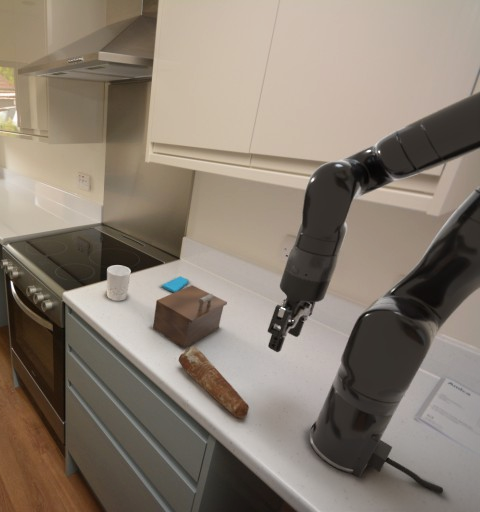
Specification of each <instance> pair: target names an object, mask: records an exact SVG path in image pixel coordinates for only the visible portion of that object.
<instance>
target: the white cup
mask: <svg viewBox="0 0 480 512" xmlns="http://www.w3.org/2000/svg"><path fill="white" fill-rule="evenodd" d="M131 272H132V271H131V268H129V267H127V266H125V265H120V264H115V265H110V266H108V267H107V269H106V296H107V298H108V299H110V300H112V301H115V302H120V301H124V300H126V299H127V296H128V295H127V294H128V291H129V285H130V281H131V280H130V279H131Z"/></svg>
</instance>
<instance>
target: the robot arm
mask: <svg viewBox="0 0 480 512" xmlns="http://www.w3.org/2000/svg"><path fill="white" fill-rule="evenodd" d="M479 150H480V91H477V92H475V93H473V94H471V95H468V96H467V97H464V98H462V99H460V100H458V101H455V102H454V103H451V104H449V105H447V106H445V107H442V108H441V109H438V110H437V111H434V112H432V113H430V114H428V115H425V116H423V117H422V118H419V119H417V120H415V121H413V122H411V123H409V124H407V125H405V126H403V127H401V128H399V129H397V130H395V131H392V132H391V133H389V134H387V135H385V136H384V137H382V138H381V139H379V141H377V142H376V143H374V144H373V145H371V146H369V147H367V148H364V149H362V150H360V151H358V152H356V153H354V154H351V155H349V156H347V157H343V158H341V159H340V160H332V161H328V162H326V163H323V164H321V165H320V166H318V167H317V168H316V169H315V170H314V171H313V173H312V174H311V175H310V177H309V179H308V182H307V184H306V187H305V191H304V196H303V204H302V212H301V222H300V225H299V227H298V230H297V233H296V237H295V240H294V244H293V245H292V247H291V250H290V252H289V254H288V257H287V260H286V264H285V267H284V270H283V273H282V276H281V279H280V282H279V289H280V290H281V291H282V293H284V294H285V296H286V298H284V299H283V300H282V302H281V304H277V305H275V307H274V310H273V314H272V316H271V319H270V323H269V325H268V328H267V333H269V334H270V338H269V342H268V344H267V347H268V348H269V349H270V350H272V351H273V352H276V353H280V352H281V350H282V348H283V345H284V342H285V340H286V337H287V335H288V334H289V335H291V336H293V337H295V338H298V337H299V336H300V335H301V332H302V329H303V327H304V324H305V322H307V320H308V317H311V316H312V315H313V311H314V308H315V305H316V303H318V302H321V301H323V300H324V299H325V297H326V294H327V291H328V289H329V286H330V283H331V281H332V278H333V275H334V273H335V270H336V267H337V263H338V259H339V254H340V252H341V249H342V248H343V244H344V242H345V238H346V235H347V232H348V224H347V222H346V221H347V218H348V215H349V212H350V209H351V206H352V203H353V202H354V200H355V199H357V198H359V197H362V196H364V195H366V194H369V193H371V192H373V191H375V190H379V189H380V188H383V187H384V186H387V185H389V184H391V183H393V182H396V181H399V180H403V179H408V178H410V177H414V176H416V175H420V174H421V173H425V172H427V171H429V170H432V169H435V168H437V167H440V166H442V165H445V164H447V163H451V162H453V161H456V160H458V159H460V158H462V157H464V156H468V155H470V154H473V153H475V152H477V151H479ZM479 289H480V183H479V184H478V185H477V186H475V189H474V190H472V192H471V193H470V194H469V195H468V196H467V197H466V198H465V200H463V202H461V204H460V205H459V206H458V207H457V208H456V210H455V211H454V212H453V213H452V214H451V215H450V216H449V217H448V219H447V221H446V222H445V223H444V224H443V225H442V227H441V228H440V229H439V231H438V232H437V234H436V235H435V237H434V238H433V239H432V241H431V243H430V244H429V246H428V248H427V249H426V251H425V253H424V254H423V255H422V257H421V258H420V260H419V261H418V262H417V263H416V265H415V266H414V267H413V268H412V269H411V270H410V271H408V273H407V274H406V275H405V276H404V277H402V278H401V279H400V280H399V281H398V282H397V283H395V285H393V286H392V287H391V288H389V289H388V290H387V291H386V292H385V293H384V294H382V295H380V297H378V298H377V299H375V300H374V301H373V302H372V303H371V304H370V305H369V306H367V308H365V310H363V312H362V313H360V315H359V316H358V318H357V319H356V321H355V322H354V325H353V327H352V329H351V331H350V334H349V336H348V339H347V342H346V344H345V348H344V349H343V352H342V354H341V358H340V364H339V367H338V370H337V372H336V375H335V376H334V379H333V381H332V383H331V385H330V388H329V391H328V393H327V395H326V397H325V400H324V402H323V405H322V407H321V409H320V411H319V414H318V416H317V419H316V421H314V423H313V424H312V426H311V427H310V434H309V442H310V445H311V447H312V449H313V450H314V452H315V453H316V454H317V455H318V456H319V457H320V458H321V459H322V460H323V461H325V462H326V463H327V464H329V465H330V466H332V467H334V468H335V469H338V470H340V471H342V472H345V473H351V474H352V475H355V476H356V477H358V478H360V477H361V476H362V474H363V472H364V470H366V468H367V466H369V467H371V468H373V469H374V470H376V471H377V472H379V473H380V472H381V470H382V468H383V467H384V465H385V464H388V465H389V466H392V467H394V468H395V469H397V470H398V471H400V472H402V473H403V474H405V475H407V476H408V477H410V478H411V479H413V480H414V481H415V482H416V483H417V484H419V485H421V486H423V487H425V488H427V489H430V490H432V491H435V492H438V493H440V494H443V492H444V488H443V487H442V486H439V485H436V484H435V483H431V482H429V481H427V480H425V479H423V478H421V477H420V476H419V475H418V474H416V473H415V472H413V471H412V470H410V469H409V468H407V467H405V466H404V465H402V464H400V463H398V462H396V461H395V460H393V459H392V458H390V457H389V455H390V453H391V451H392V449H393V446H391V445H390V444H388V443H387V442H385V441H383V440H381V439H382V437H383V435H384V434H385V431H386V429H387V428H388V426H389V424H390V422H391V420H392V418H393V416H394V414H395V413H396V411H397V408H398V406H399V405H400V403H401V402H402V400H403V398H404V397H405V394H406V393H407V391H408V390H409V388H410V386H411V384H412V382H413V381H414V378H415V377H416V375H417V373H418V371H419V370H420V368H421V366H422V364H423V362H424V360H425V359H426V357H427V355H428V353H429V351H430V349H431V347H432V345H433V343H434V341H435V339H436V337H437V336H438V333H439V331H440V330H441V329H442V327H443V326H444V324H445V323H446V322H447V321H448V319H449V318H450V317H451V316H452V315H453V314H454V313H455V312H456V310H457V309H459V307H460V306H461V305H462V304H463V303H464V302H465V301H466V300H467V299H468V298H469V297H470V296H472V295H473V294H474V293H476V292H477V291H478V290H479ZM279 327H280V328H279Z"/></svg>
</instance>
